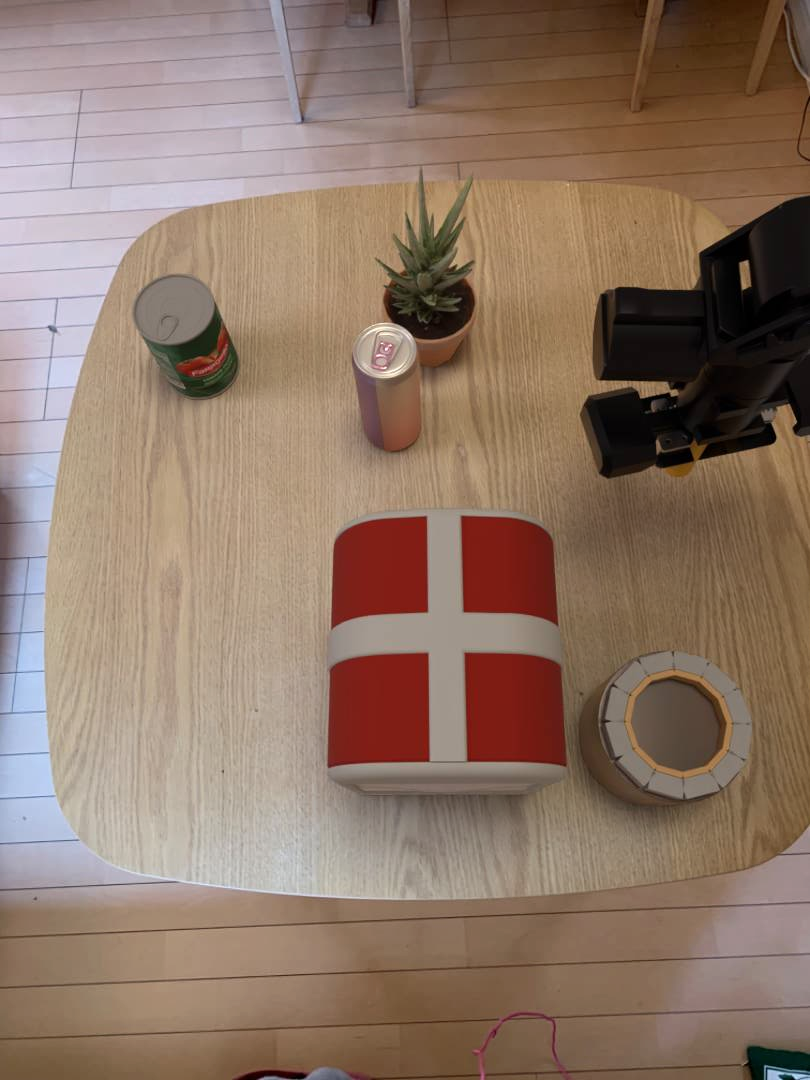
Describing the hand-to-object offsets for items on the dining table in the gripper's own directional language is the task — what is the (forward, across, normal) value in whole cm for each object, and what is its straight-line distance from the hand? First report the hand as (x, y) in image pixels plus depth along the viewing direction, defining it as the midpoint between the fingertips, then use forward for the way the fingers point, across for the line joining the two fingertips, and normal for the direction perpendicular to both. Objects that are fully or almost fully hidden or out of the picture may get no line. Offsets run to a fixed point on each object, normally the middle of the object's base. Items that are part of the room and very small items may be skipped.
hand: (680, 458), depth 72 cm
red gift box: (+13, +24, +13) cm, 30 cm away
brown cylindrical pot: (+13, +6, +21) cm, 25 cm away
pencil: (+1, 0, 0) cm, 1 cm away
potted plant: (+13, +16, -24) cm, 32 cm away
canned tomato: (+13, +40, -26) cm, 50 cm away
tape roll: (+4, +6, +21) cm, 22 cm away
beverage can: (+13, +22, -15) cm, 30 cm away
